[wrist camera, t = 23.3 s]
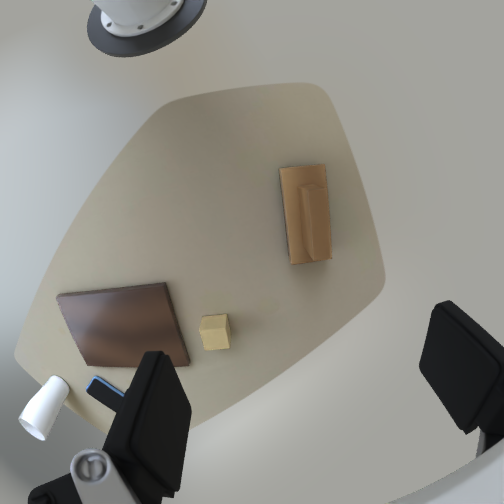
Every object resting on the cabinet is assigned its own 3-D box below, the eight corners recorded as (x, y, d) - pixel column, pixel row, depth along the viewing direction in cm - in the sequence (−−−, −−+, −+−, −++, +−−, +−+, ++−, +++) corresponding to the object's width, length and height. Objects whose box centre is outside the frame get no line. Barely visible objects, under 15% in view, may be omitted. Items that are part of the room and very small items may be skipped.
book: (59, 294, 36) (55, 297, 35) (165, 282, 36) (163, 285, 35) (89, 361, 41) (87, 365, 39) (190, 361, 40) (189, 366, 39)
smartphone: (94, 376, 41) (159, 418, 44) (95, 373, 41) (160, 415, 45) (84, 391, 42) (144, 430, 46) (85, 389, 43) (145, 427, 46)
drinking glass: (45, 378, 43) (16, 421, 29) (52, 367, 41) (19, 414, 27) (68, 397, 44) (42, 443, 30) (77, 388, 43) (48, 438, 29)
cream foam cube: (202, 316, 38) (199, 330, 34) (226, 313, 38) (225, 327, 34) (207, 336, 39) (204, 350, 35) (231, 333, 39) (230, 348, 35)
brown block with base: (287, 256, 35) (299, 282, 28) (277, 168, 32) (287, 169, 24) (325, 251, 35) (345, 275, 27) (318, 164, 31) (339, 165, 24)
